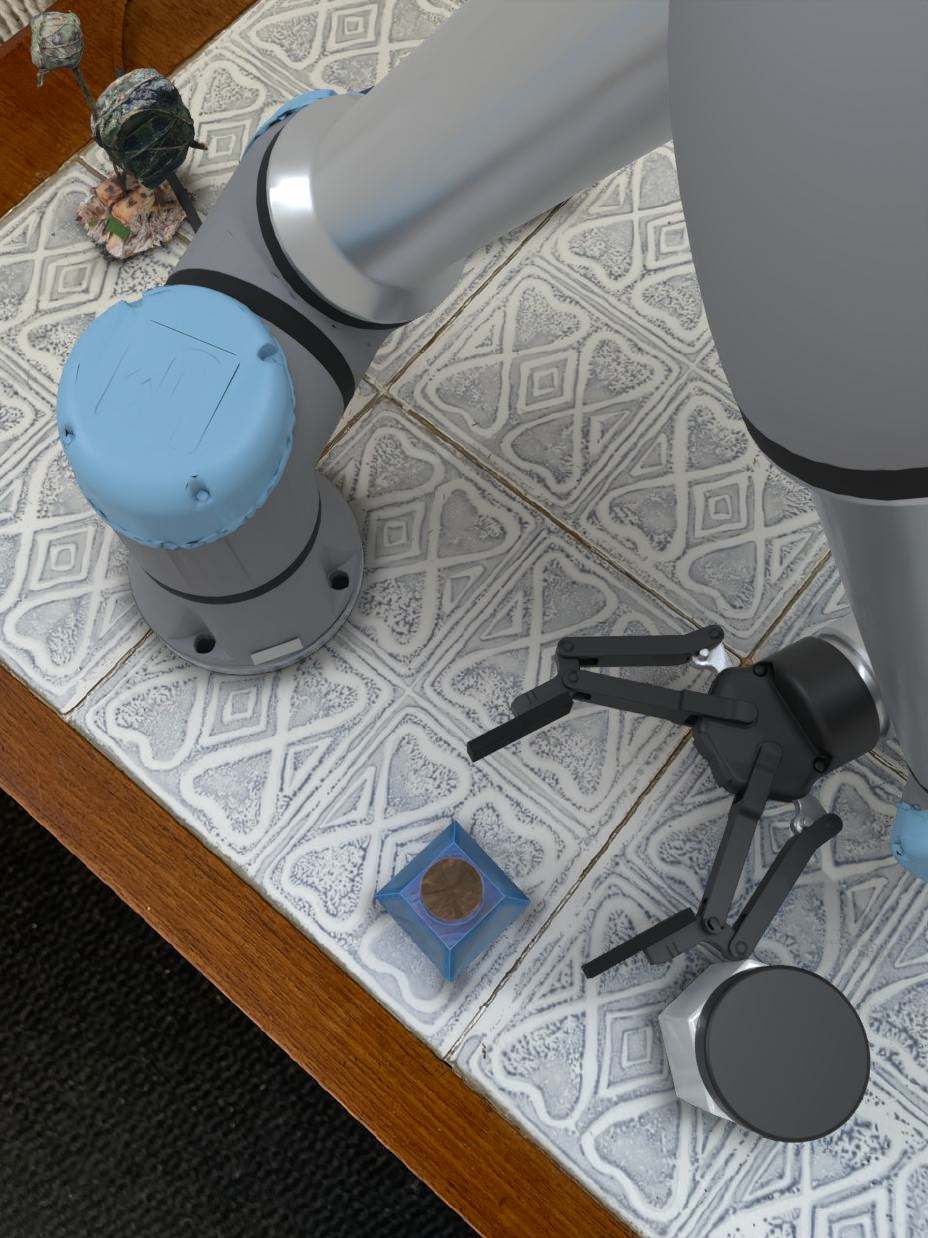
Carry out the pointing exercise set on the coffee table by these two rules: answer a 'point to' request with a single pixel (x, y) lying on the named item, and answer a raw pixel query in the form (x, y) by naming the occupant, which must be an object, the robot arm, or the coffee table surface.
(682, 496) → the coffee table surface
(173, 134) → the plant with pod
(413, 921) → the perfume bottle
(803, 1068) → the jar
